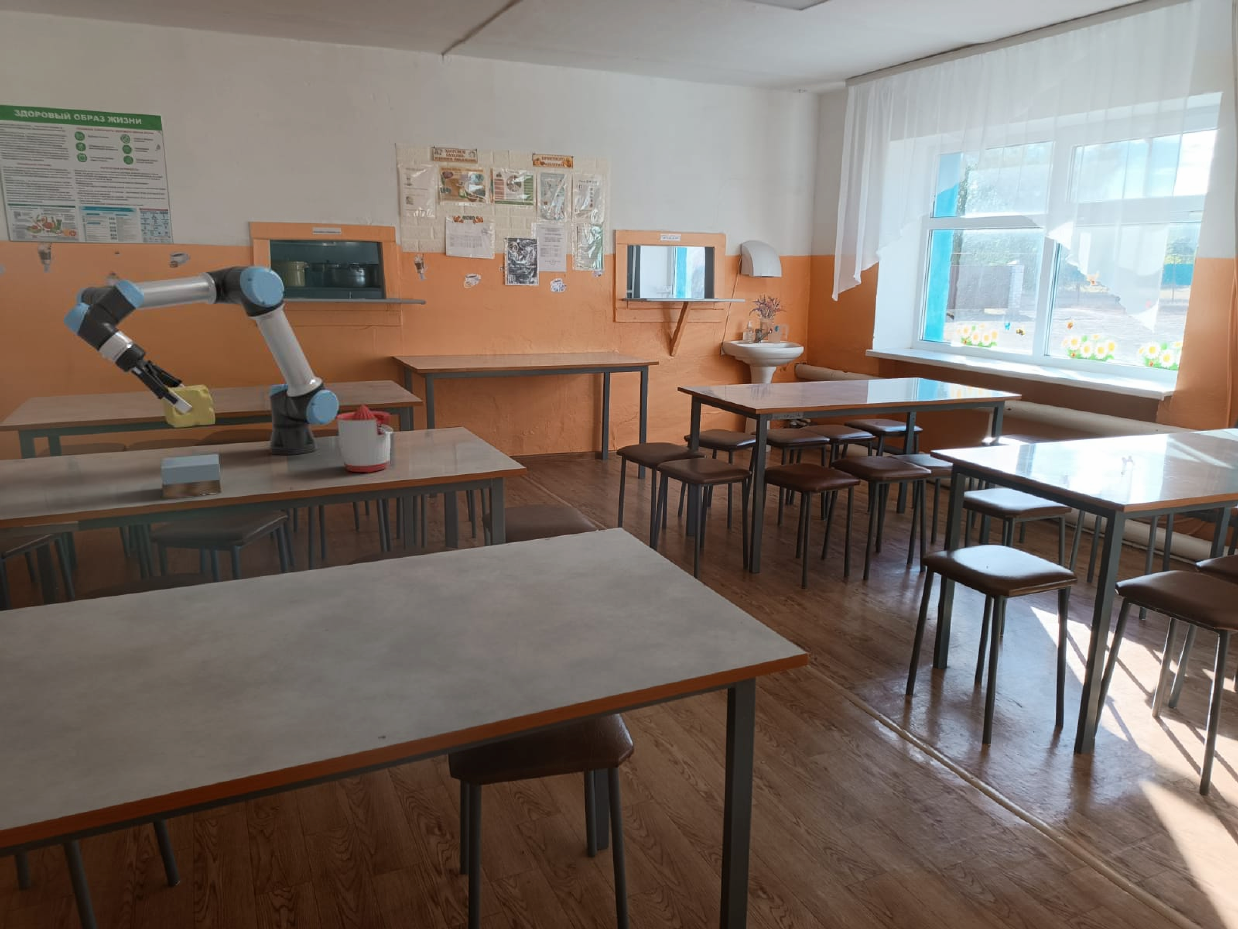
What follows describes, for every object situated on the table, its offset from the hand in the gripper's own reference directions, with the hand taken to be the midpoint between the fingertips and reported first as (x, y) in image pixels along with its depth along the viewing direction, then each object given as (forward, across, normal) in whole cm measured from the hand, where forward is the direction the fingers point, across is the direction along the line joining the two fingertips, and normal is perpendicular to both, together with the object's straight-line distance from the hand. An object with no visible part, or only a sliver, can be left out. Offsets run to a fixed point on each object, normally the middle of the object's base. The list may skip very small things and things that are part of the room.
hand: (192, 406), depth 232 cm
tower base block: (+15, 0, -19) cm, 24 cm away
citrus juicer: (+49, -13, +15) cm, 53 cm away
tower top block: (+12, 0, -15) cm, 20 cm away
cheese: (+3, 0, -4) cm, 5 cm away
